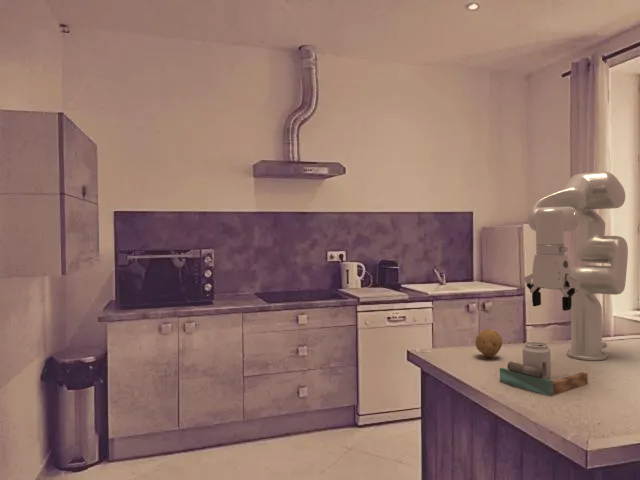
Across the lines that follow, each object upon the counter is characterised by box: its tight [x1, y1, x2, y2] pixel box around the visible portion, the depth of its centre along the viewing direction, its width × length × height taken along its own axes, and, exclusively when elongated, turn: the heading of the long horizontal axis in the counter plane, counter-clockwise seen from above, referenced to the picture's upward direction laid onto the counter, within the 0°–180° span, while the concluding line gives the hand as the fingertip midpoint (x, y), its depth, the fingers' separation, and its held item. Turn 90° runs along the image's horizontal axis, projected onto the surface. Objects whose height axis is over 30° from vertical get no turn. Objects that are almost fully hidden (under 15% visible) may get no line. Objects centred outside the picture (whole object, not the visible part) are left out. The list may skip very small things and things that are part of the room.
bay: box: [499, 361, 589, 397], centre depth 152 cm, size 19×16×9 cm
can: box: [522, 341, 552, 380], centre depth 151 cm, size 8×8×12 cm
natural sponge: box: [475, 328, 503, 359], centre depth 182 cm, size 9×9×10 cm
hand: (551, 307), depth 155 cm, fingers open, 9 cm apart
